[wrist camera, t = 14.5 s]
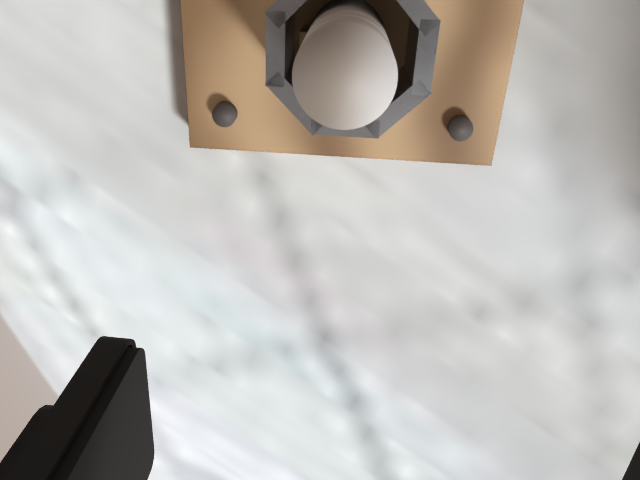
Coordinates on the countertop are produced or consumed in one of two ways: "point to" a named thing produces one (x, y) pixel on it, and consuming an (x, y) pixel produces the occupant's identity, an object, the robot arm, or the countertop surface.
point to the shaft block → (349, 78)
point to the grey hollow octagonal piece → (410, 76)
